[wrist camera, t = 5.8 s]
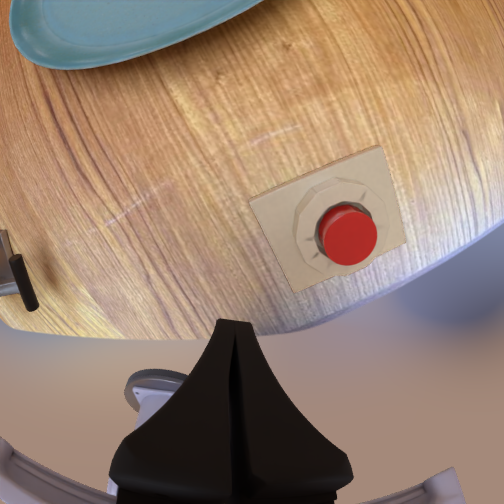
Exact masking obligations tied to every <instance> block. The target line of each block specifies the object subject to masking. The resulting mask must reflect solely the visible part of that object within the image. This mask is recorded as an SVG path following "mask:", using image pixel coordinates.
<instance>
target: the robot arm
mask: <svg viewBox="0 0 504 504" xmlns="http://www.w3.org/2000/svg"><path fill="white" fill-rule="evenodd" d="M132 390H133V392H134V394H135V396H136V398H137V400H138V402H139V404H140V410H139V414H138V418H137V421H136V425H135V430H134V431H133V432H132V433H130V434H129V435H128V436H126V437H125V438H124V440H123V441H122V442H121V444H120V446H119V447H118V449H117V451H116V453H115V455H114V458H113V459H112V463H111V467H110V471H109V481H108V487H107V493H105V492H102V491H100V490H97V489H94V488H91V487H89V486H86V485H84V484H81V483H79V482H77V481H74V480H72V479H70V478H67V477H65V476H63V475H61V474H59V473H57V472H55V471H53V470H51V469H49V468H47V467H45V466H43V465H41V464H39V463H37V462H36V461H34V460H32V459H30V458H28V457H27V456H25V455H24V454H22V453H20V452H19V451H17V450H15V449H14V448H13V447H12V446H11V445H10V444H9V443H8V442H7V441H6V440H4V439H3V438H2V437H0V499H1V500H2V501H3V502H5V503H6V504H334V500H336V499H337V494H336V491H337V490H338V489H340V488H342V487H344V486H346V485H347V484H348V483H350V482H351V481H352V480H353V478H354V476H353V472H352V468H351V465H350V462H349V460H348V457H347V454H345V453H344V452H343V451H341V450H340V449H338V447H336V446H335V445H334V444H332V443H331V442H330V441H329V440H328V439H326V438H325V437H324V436H323V435H322V434H321V433H320V432H319V431H318V430H317V429H316V428H315V427H314V426H313V425H312V424H311V423H310V422H309V421H308V420H307V419H306V418H305V417H304V416H303V414H302V413H301V412H300V411H299V410H298V409H297V408H296V406H295V405H294V404H293V402H292V401H291V400H290V398H289V397H288V396H287V394H286V393H285V392H284V390H283V389H282V387H281V386H280V384H279V382H278V381H277V379H276V377H275V376H274V374H273V372H272V370H271V369H270V367H269V365H268V363H267V361H266V359H265V357H264V355H263V353H262V350H261V348H260V346H259V343H258V341H257V338H256V336H255V333H254V330H253V326H252V324H251V323H250V322H243V321H235V320H228V319H221V318H220V319H218V320H217V321H216V326H215V329H214V332H213V334H212V336H211V339H210V341H209V343H208V345H207V346H206V348H205V350H204V352H203V354H202V356H201V357H200V359H199V361H198V362H197V364H196V365H195V367H194V368H193V370H192V371H191V373H190V374H189V375H188V377H187V378H186V379H185V381H184V382H183V383H182V385H181V386H180V387H179V388H178V389H177V391H176V392H174V391H165V390H157V389H150V388H143V387H136V386H134V387H133V389H132ZM359 504H466V502H465V499H464V495H463V492H462V489H461V486H460V483H459V481H458V478H457V475H456V472H455V469H454V467H450V468H448V469H446V470H444V471H442V472H440V473H438V474H436V475H434V476H432V477H430V478H429V479H427V480H425V481H424V482H423V483H420V484H418V485H415V486H413V487H410V488H408V489H405V490H402V491H400V492H396V493H394V494H390V495H387V496H384V497H381V498H377V499H374V500H371V501H367V502H363V503H359Z"/></svg>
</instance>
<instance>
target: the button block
mask: <svg viewBox="0 0 504 504" xmlns="http://www.w3.org/2000/svg"><path fill="white" fill-rule="evenodd" d="M249 205H250V207H251V208H252V210H253V212H254V214H255V216H256V218H257V220H258V222H259V224H260V226H261V228H262V230H263V232H264V234H265V236H266V238H267V240H268V242H269V244H270V246H271V248H272V250H273V252H274V254H275V256H276V258H277V260H278V262H279V264H280V266H281V268H282V270H283V272H284V274H285V276H286V278H287V281H288V283H289V285H290V287H291V289H292V291H293V293H296V292H299V291H301V290H303V289H306V288H308V287H311V286H313V285H315V284H318V283H320V282H322V281H325V280H327V279H329V278H331V277H334V276H347V275H350V274H352V273H354V272H356V271H358V270H360V269H363V268H365V267H367V266H368V265H369V264H370V263H371V262H372V261H373V260H374V259H375V257H377V256H379V255H382V254H384V253H386V252H388V251H390V250H392V249H394V248H396V247H398V246H400V245H402V244H404V243H406V238H405V233H404V228H403V223H402V218H401V214H400V209H399V205H398V201H397V197H396V193H395V189H394V185H393V181H392V178H391V174H390V170H389V167H388V164H387V160H386V157H385V154H384V151H383V148H382V146H379V145H375V146H372V147H370V148H367V149H365V150H362V151H360V152H357V153H354V154H352V155H349V156H347V157H345V158H342V159H340V160H337V161H335V162H332V163H330V164H327V165H325V166H323V167H320V168H318V169H316V170H313V171H311V172H309V173H306V174H304V175H302V176H299V177H297V178H295V179H292V180H290V181H288V182H286V183H283V184H281V185H279V186H277V187H274V188H272V189H270V190H268V191H266V192H263V193H261V194H259V195H257V196H255V197H253V198H250V199H249ZM340 205H353V206H356V207H358V208H359V209H361V210H362V211H363V212H364V213H365V214H366V215H368V216H369V217H370V218H371V219H372V220H373V222H374V223H375V225H376V228H377V242H376V245H375V247H374V249H373V251H372V252H371V254H370V255H369V256H368V257H367V258H366V259H365V260H363V261H362V262H360V263H358V264H355V265H350V266H344V265H339V264H337V263H335V262H333V261H332V260H331V259H330V258H329V257H328V256H327V254H326V252H325V251H324V249H323V247H322V245H321V243H320V241H319V237H318V229H319V225H320V222H321V220H322V219H323V217H324V216H325V215H326V213H327V212H329V211H330V210H331V209H333V208H335V207H337V206H340Z"/></svg>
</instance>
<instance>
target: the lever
mask: <svg viewBox="0 0 504 504" xmlns="http://www.w3.org/2000/svg"><path fill="white" fill-rule="evenodd" d="M8 262H9V265H10V268H11V271H12V274H13V276H14V277H13V278H8V279H4V280H0V296H6V295H11V294H16V293H20V295H21V297H22V300H23V302H24V304H25V307H26V309H27V311H29V312H32V311H35V310H36V309H37V308H38V307H39V303H38V300H37V298H36V295H35V292H34V290H33V287H32V284H31V282H30V279H29V276H28V273H27V270H26V267H25V264H24V261H23V257H22V255H21V254H16V255H13V256H12V257H10V258H9V260H8Z"/></svg>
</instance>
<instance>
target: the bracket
mask: <svg viewBox="0 0 504 504" xmlns="http://www.w3.org/2000/svg"><path fill="white" fill-rule="evenodd" d="M12 256H13V254H12V250H11V247H10V243H9V240H8V236H7V232H6V230H0V280H4V279H8V278H13V277H14V276H13V274H12V271H11V268H10V265H9V262H8V260H9V258H10V257H12ZM19 294H20V293H19Z"/></svg>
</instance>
